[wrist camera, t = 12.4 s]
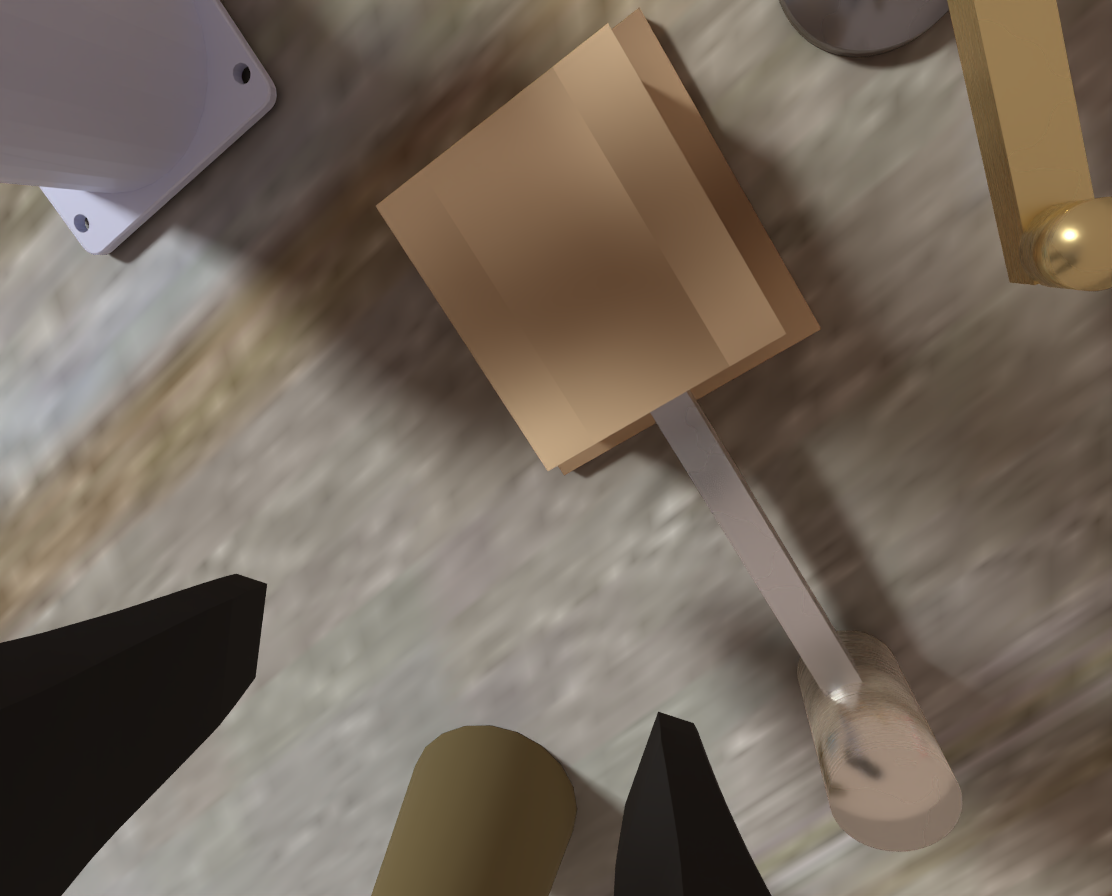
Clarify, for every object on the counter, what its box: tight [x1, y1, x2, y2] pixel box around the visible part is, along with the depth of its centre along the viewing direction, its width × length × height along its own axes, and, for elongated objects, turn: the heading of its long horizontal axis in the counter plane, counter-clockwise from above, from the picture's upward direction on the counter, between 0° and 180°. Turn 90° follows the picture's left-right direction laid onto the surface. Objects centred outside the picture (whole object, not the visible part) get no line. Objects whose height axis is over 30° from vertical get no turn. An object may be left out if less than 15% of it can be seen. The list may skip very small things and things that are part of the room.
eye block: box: [376, 8, 821, 475], centre depth 17 cm, size 9×8×4 cm
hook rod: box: [650, 390, 963, 852], centre depth 17 cm, size 14×3×5 cm, turn 33°
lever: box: [947, 0, 1112, 291], centre depth 11 cm, size 9×3×2 cm, turn 20°
